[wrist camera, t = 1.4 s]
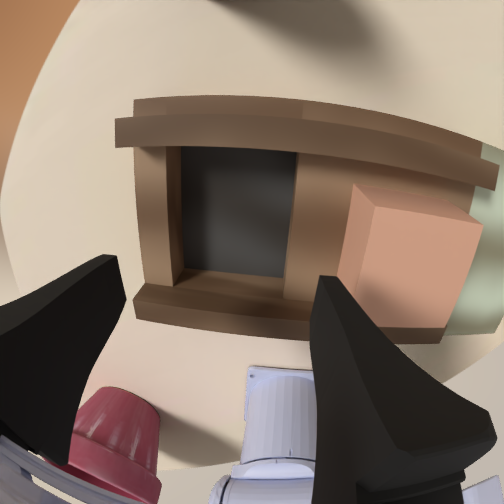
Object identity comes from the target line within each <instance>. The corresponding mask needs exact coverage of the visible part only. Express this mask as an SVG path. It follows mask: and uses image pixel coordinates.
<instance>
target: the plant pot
mask: <svg viewBox="0 0 504 504" xmlns="http://www.w3.org/2000/svg"><path fill="white" fill-rule="evenodd" d="M159 428H160V417H159V415H158V413H157V412H156V410H155V409H154V408H153V407H152V406H151V405H150V404H148V403H147V402H146V401H144V400H143V399H141V398H140V397H138V396H136V395H134V394H132V393H130V392H128V391H125V390H122V389H119V388H115V387H102V388H100V389H99V390H98V391H97V392H96V393H95V394H94V395H93V396H92V397H91V398H90V399H89V400H88V401H87V402H86V403H85V404H84V405H83V406H82V407H81V408H80V409H79V410H78V411H77V414H76V419H75V423H74V428H73V432H72V438H71V445H70V452H69V462H68V464H67V465H65V466H59V465H57V464H55V463H53V462H51V461H49V460H47V459H46V458H44V457H42V458H43V459H44V460H45V461H46V462H47V463H49V464H51V465H52V466H54V467H56V468H58V469H60V470H62V471H64V472H66V473H68V474H70V475H72V476H74V477H77V478H79V479H81V480H83V481H86V482H88V483H90V484H92V485H95V486H97V487H100V488H102V489H105V490H107V491H110V492H113V493H115V494H118V495H121V496H124V497H127V498H130V499H133V500H136V501H139V502H143V503H146V504H157V503H158V499H159V495H160V491H161V487H162V484H161V482H160V480H159V479H158V478H157V477H156V472H157V458H158V444H159Z"/></svg>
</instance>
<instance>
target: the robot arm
mask: <svg viewBox="0 0 504 504" xmlns="http://www.w3.org/2000/svg"><path fill="white" fill-rule="evenodd" d="M126 300H127V299H126V295H125V291H124V287H123V282H122V278H121V274H120V269H119V264H118V259H117V256H115V255H107V254H103V255H100V256H98V257H95V258H93V259H91V260H89V261H88V262H86V263H84V264H82V265H80V266H78V267H77V268H75V269H73V270H71V271H70V272H68V273H66V274H64V275H63V276H61V277H59V278H57V279H56V280H54V281H52V282H50V283H48V284H46V285H45V286H43V287H41V288H39V289H37V290H35V291H33V292H32V293H30V294H27V295H25V296H23V297H21V298H19V299H17V300H15V301H12V302H10V303H7V304H5V305H2V306H0V504H71V503H68V502H66V501H65V500H63V499H61V498H59V497H57V496H55V495H54V494H52V493H50V492H48V491H46V490H44V489H43V488H41V487H39V486H38V485H36V484H35V483H34V482H33V480H32V476H31V474H32V475H34V476H35V477H37V478H39V479H40V480H42V481H44V482H45V483H47V484H49V485H51V486H53V487H54V488H56V489H58V490H60V491H62V492H64V493H66V494H68V495H70V496H72V497H74V498H76V499H78V500H80V501H82V502H84V503H87V504H146V503H143V502H139V501H136V500H133V499H130V498H127V497H124V496H121V495H118V494H115V493H113V492H110V491H107V490H105V489H102V488H100V487H97V486H95V485H92V484H90V483H88V482H86V481H83V480H81V479H79V478H77V477H74V476H72V475H70V474H68V473H66V472H64V471H62V470H60V469H58V468H56V467H54V466H52V465H51V464H49V463H47V462H45V461H43V460H41V459H40V458H38V457H36V456H35V455H33V454H31V453H30V452H28V450H29V451H31V452H33V453H34V454H36V455H37V454H38V455H40V456H42V457H44V458H46V459H47V460H49V461H51V462H53V463H55V464H57V465H59V466H65V465H67V464H68V462H69V452H70V445H71V438H72V432H73V428H74V423H75V419H76V414H77V411H78V407H79V404H80V401H81V397H82V394H83V391H84V388H85V386H86V383H87V380H88V377H89V375H90V373H91V370H92V368H93V366H94V364H95V362H96V360H97V359H98V357H99V355H100V353H101V351H102V349H103V348H104V346H105V344H106V342H107V340H108V339H109V337H110V335H111V333H112V331H113V330H114V328H115V326H116V324H117V322H118V320H119V318H120V315H121V313H122V310H123V308H124V305H125V302H126ZM309 322H310V352H311V360H312V368H313V371H305V370H290V369H277V368H266V367H256V366H251V367H249V368H248V373H247V387H246V401H245V414H244V420H245V421H246V426H245V433H244V440H243V446H242V453H241V459H240V465H233V468H232V473H231V475H225V476H223V477H222V478H221V479H220V480H219V481H218V482H217V483H216V484H215V485H214V487H213V489H212V491H211V494H210V498H209V502H208V504H504V500H503V494H502V490H501V485H500V480H499V476H498V475H495V476H493V477H490V478H488V479H486V480H484V481H481V482H479V483H477V484H474V485H472V486H470V487H468V488H466V489H463V490H461V485H460V483H461V482H463V481H465V478H466V476H465V472H464V469H465V468H467V467H468V466H469V465H471V464H473V463H474V462H475V461H477V460H478V459H480V458H481V457H482V456H483V455H485V454H486V453H487V452H488V451H490V450H491V448H492V447H493V446H494V445H495V443H496V441H497V435H496V432H495V429H494V426H493V423H492V421H491V417H490V415H489V412H488V411H487V410H485V409H483V408H481V407H479V406H478V405H476V404H474V403H472V402H470V401H468V400H466V399H465V398H463V397H461V396H459V395H458V394H456V393H455V392H453V391H452V390H450V389H449V388H447V387H446V386H444V385H443V384H441V383H440V382H438V381H437V380H436V379H434V378H433V377H431V376H430V375H429V374H428V373H426V372H425V371H424V370H423V369H421V368H420V367H419V366H418V365H416V364H415V363H414V362H413V361H412V360H411V359H409V358H408V357H407V356H406V355H405V354H404V353H403V352H402V351H401V350H400V349H399V348H398V347H397V346H395V345H394V344H393V343H392V342H391V341H390V340H389V339H388V338H387V336H386V335H385V334H384V333H383V332H382V331H381V330H380V329H379V328H378V327H377V326H376V324H375V323H374V322H373V321H372V320H371V319H370V317H369V316H368V315H367V314H366V313H365V311H364V310H363V309H362V308H361V306H360V305H359V304H358V303H357V301H356V300H355V299H354V298H353V296H352V295H351V294H350V292H349V291H348V290H347V288H346V287H345V286H344V284H343V283H342V282H341V281H340V279H339V278H338V277H337V276H326V275H319V280H318V285H317V289H316V294H315V298H314V303H313V307H312V312H311V316H310V320H309ZM252 374H254V375H252Z"/></svg>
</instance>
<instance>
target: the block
mask: <svg viewBox="0 0 504 504" xmlns="http://www.w3.org/2000/svg"><path fill="white" fill-rule="evenodd" d="M483 226H484V225H483V224H481V223H480V222H479V221H477V220H476V219H474V218H473V217H472V216H470V215H469V214H467V213H466V212H464V211H463V210H461V209H460V208H458V207H457V206H455V205H454V204H452V203H451V202H449V201H448V200H444V199H440V198H435V197H430V196H425V195H420V194H414V193H409V192H403V191H398V190H392V189H386V188H380V187H374V186H367V185H360V184H353V191H352V197H351V204H350V210H349V215H348V221H347V227H346V232H345V238H344V243H343V248H342V253H341V258H340V263H339V268H338V272H337V277H338V278H339V279H340V281H341V282H342V283H343V284H344V286H345V287H346V288H347V290H348V291H349V292H350V294H351V295H352V296H353V298H354V299H355V300H356V301H357V303H358V304H359V305H360V306H361V308H362V309H363V310H364V311H365V313H366V314H367V315H368V316H369V317H370V319H371V320H372V321H373V322H374V323H375V324H376V326H377V327H404V328H445V326H446V324H447V322H448V320H449V318H450V315H451V313H452V311H453V309H454V307H455V304H456V302H457V300H458V297H459V295H460V293H461V290H462V288H463V285H464V283H465V280H466V277H467V275H468V272H469V269H470V267H471V264H472V261H473V258H474V255H475V252H476V249H477V246H478V243H479V240H480V236H481V233H482V230H483Z"/></svg>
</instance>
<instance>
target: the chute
mask: <svg viewBox="0 0 504 504" xmlns="http://www.w3.org/2000/svg"><path fill="white" fill-rule="evenodd" d="M121 147H134V175H135V193H136V207H137V219H138V229H139V239H140V248H141V257H142V264H143V272H144V279H145V284H144V285H143V286H142V288H141V289H140V290H139V292H138V293H137V294H136V296H135V297H134V298H133V304H134V309H135V314H136V319H140V320H146V321H151V322H157V323H162V324H168V325H174V326H180V327H187V328H193V329H200V330H207V331H214V332H222V333H230V334H238V335H247V336H256V337H266V338H277V339H288V340H301V341H310V322H309V320H310V316H311V312H312V307H313V303H314V298H315V294H316V289H317V285H318V280H319V275H326V276H337V272H338V268H339V263H340V258H341V253H342V248H343V243H344V238H345V232H346V227H347V221H348V215H349V210H350V204H351V197H352V191H353V184H360V185H367V186H374V187H380V188H386V189H392V190H398V191H403V192H409V193H414V194H420V195H425V196H430V197H435V198H440V199H444V200H448V201H449V202H451V203H452V204H454V205H455V206H457V207H458V208H460V209H461V210H463V211H464V212H466V213H467V214H469V215H470V216H472V217H473V218H474V219H476V220H477V221H479V222H480V223H481V224H483V225H484V226H483V230H482V233H481V236H480V240H479V243H478V246H477V249H476V252H475V255H474V258H473V261H472V264H471V267H470V269H469V272H468V275H467V277H466V280H465V283H464V285H463V288H462V290H461V293H460V295H459V297H458V300H457V302H456V304H455V307H454V309H453V311H452V313H451V315H450V318H449V320H448V322H447V324H446V326H445V328H404V327H378V328H379V329H380V330H381V331H382V332H383V333H384V334H385V335H386V336H387V338H388V339H389V340H390V341H391V342H392V343H393V344H438V343H440V341H441V339H442V337H443V335H471V334H489V333H495V331H496V329H497V327H498V325H499V324H500V322H501V320H502V318H503V316H504V151H503V150H501V149H498V148H496V147H493V146H491V145H488V144H486V143H483V142H481V141H478V140H475V139H473V138H470V137H467V136H464V135H461V134H458V133H455V132H452V131H449V130H446V129H443V128H439V127H436V126H433V125H429V124H426V123H422V122H418V121H415V120H411V119H407V118H403V117H399V116H395V115H390V114H386V113H381V112H376V111H372V110H366V109H361V108H356V107H350V106H344V105H337V104H331V103H324V102H316V101H308V100H298V99H288V98H276V97H260V96H233V95H200V96H174V97H158V98H146V99H136V100H134V110H133V117H127V118H117V119H115V148H121Z"/></svg>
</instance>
